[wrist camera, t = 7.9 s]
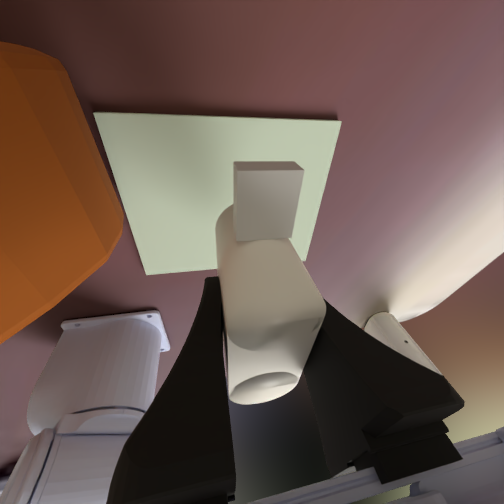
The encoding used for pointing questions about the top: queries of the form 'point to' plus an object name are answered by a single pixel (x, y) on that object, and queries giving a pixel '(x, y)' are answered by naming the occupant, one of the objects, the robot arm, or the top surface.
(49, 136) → the orange toaster
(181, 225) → the rubber mat
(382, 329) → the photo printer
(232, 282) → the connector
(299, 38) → the top surface
